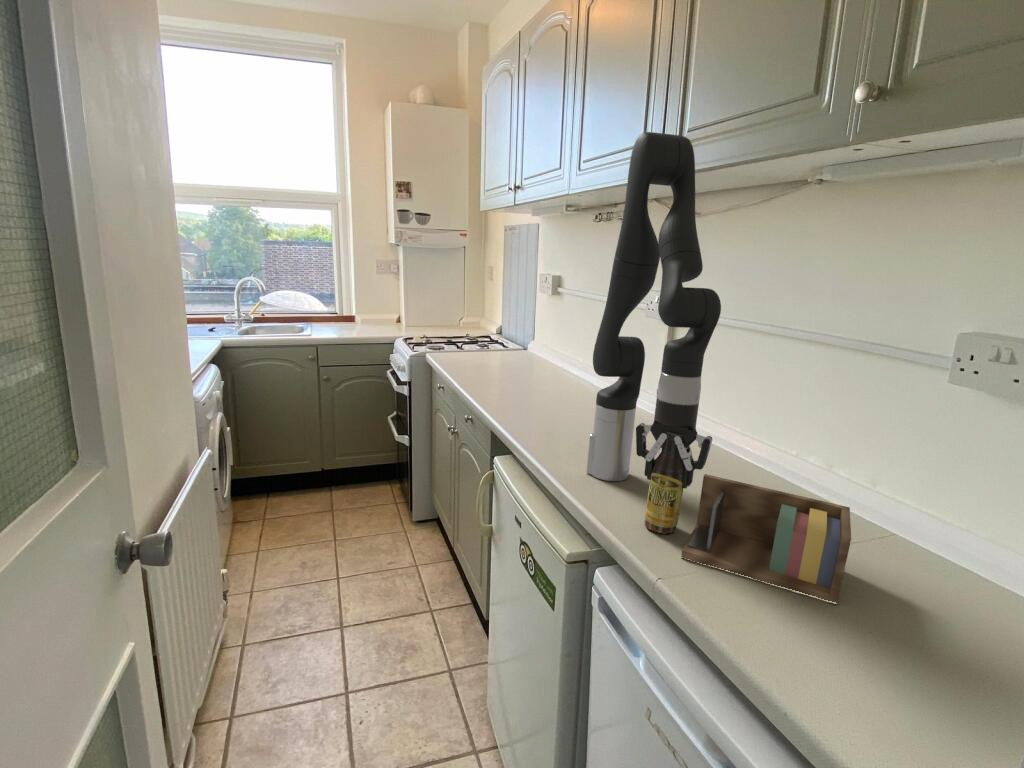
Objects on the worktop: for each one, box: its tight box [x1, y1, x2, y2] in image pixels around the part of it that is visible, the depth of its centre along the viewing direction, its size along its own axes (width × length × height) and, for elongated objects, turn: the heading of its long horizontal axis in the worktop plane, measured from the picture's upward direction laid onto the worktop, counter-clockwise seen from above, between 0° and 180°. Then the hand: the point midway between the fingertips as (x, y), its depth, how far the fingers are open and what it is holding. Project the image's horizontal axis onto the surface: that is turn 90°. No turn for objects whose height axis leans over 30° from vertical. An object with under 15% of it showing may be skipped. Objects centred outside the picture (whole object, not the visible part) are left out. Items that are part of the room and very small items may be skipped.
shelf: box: [680, 473, 852, 604], centre depth 97 cm, size 24×13×12 cm, turn 60°
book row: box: [769, 504, 840, 588], centre depth 94 cm, size 9×9×9 cm
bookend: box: [688, 490, 725, 553], centre depth 102 cm, size 4×9×8 cm, turn 150°
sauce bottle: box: [644, 432, 686, 535], centre depth 107 cm, size 7×6×20 cm
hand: (667, 482), depth 107 cm, fingers closed on sauce bottle, 6 cm apart
